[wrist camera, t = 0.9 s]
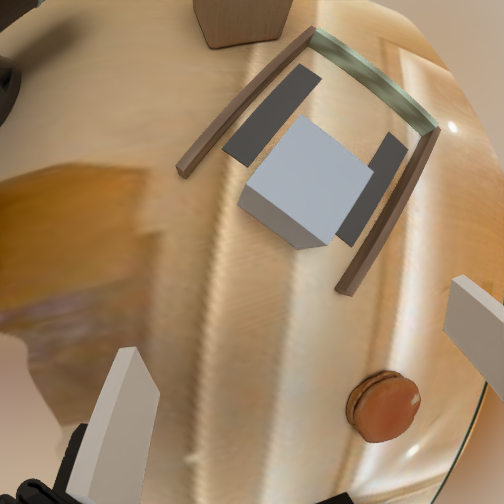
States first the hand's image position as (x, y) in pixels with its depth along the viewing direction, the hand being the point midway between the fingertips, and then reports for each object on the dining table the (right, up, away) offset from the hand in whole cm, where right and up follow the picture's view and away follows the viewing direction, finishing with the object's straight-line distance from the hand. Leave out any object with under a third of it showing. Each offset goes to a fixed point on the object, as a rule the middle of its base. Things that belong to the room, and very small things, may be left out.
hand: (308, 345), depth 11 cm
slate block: (+2, +9, +22) cm, 24 cm away
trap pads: (+7, +16, +22) cm, 28 cm away
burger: (+14, -16, +23) cm, 31 cm away
